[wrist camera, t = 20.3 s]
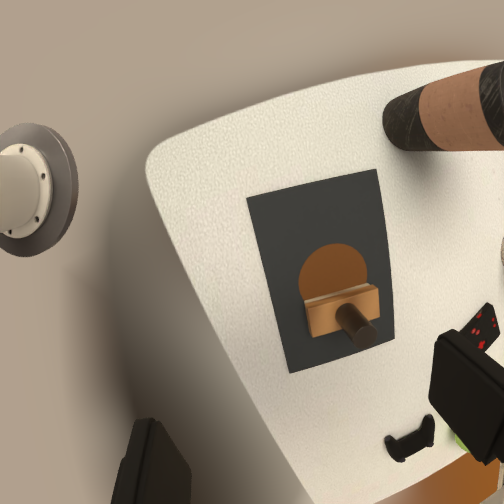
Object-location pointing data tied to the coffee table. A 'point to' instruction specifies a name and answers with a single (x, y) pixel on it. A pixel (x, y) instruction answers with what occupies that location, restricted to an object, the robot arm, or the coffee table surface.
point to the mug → (502, 251)
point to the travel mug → (451, 113)
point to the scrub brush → (346, 314)
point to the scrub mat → (323, 258)
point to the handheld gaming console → (482, 328)
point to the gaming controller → (412, 441)
